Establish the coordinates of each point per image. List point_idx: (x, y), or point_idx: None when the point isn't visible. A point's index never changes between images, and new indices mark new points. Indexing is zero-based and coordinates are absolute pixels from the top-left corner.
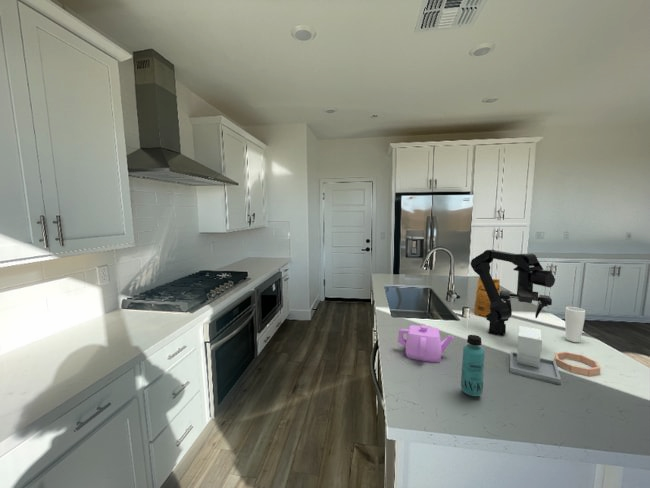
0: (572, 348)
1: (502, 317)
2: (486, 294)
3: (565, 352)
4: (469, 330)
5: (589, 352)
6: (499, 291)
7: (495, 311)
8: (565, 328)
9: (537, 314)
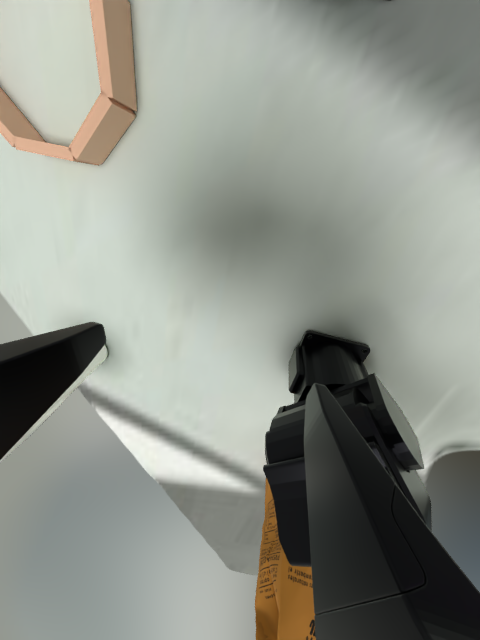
0: (87, 282)
1: (343, 398)
2: None
3: (72, 148)
4: (462, 361)
5: (43, 264)
6: (256, 602)
7: (414, 456)
8: (81, 377)
9: (41, 338)
